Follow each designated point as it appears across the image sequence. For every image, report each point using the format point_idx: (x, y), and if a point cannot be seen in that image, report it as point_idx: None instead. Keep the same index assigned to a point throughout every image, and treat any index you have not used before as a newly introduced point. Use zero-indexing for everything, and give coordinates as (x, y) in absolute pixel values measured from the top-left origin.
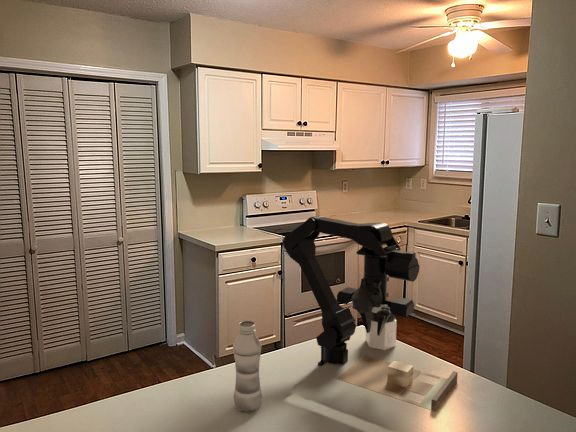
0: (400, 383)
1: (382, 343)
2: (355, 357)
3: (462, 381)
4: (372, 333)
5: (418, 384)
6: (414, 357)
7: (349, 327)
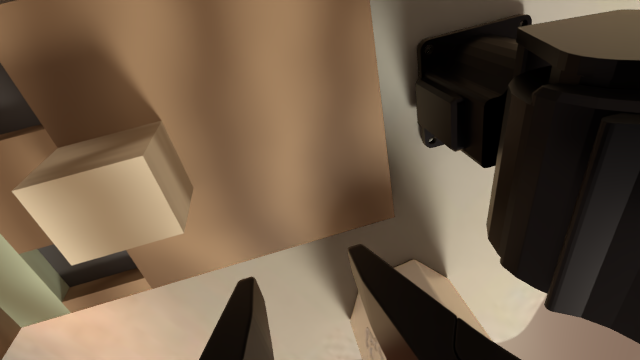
0: (86, 143)
1: None
2: (428, 194)
3: (50, 349)
4: None
5: None
6: (278, 336)
7: (539, 216)
